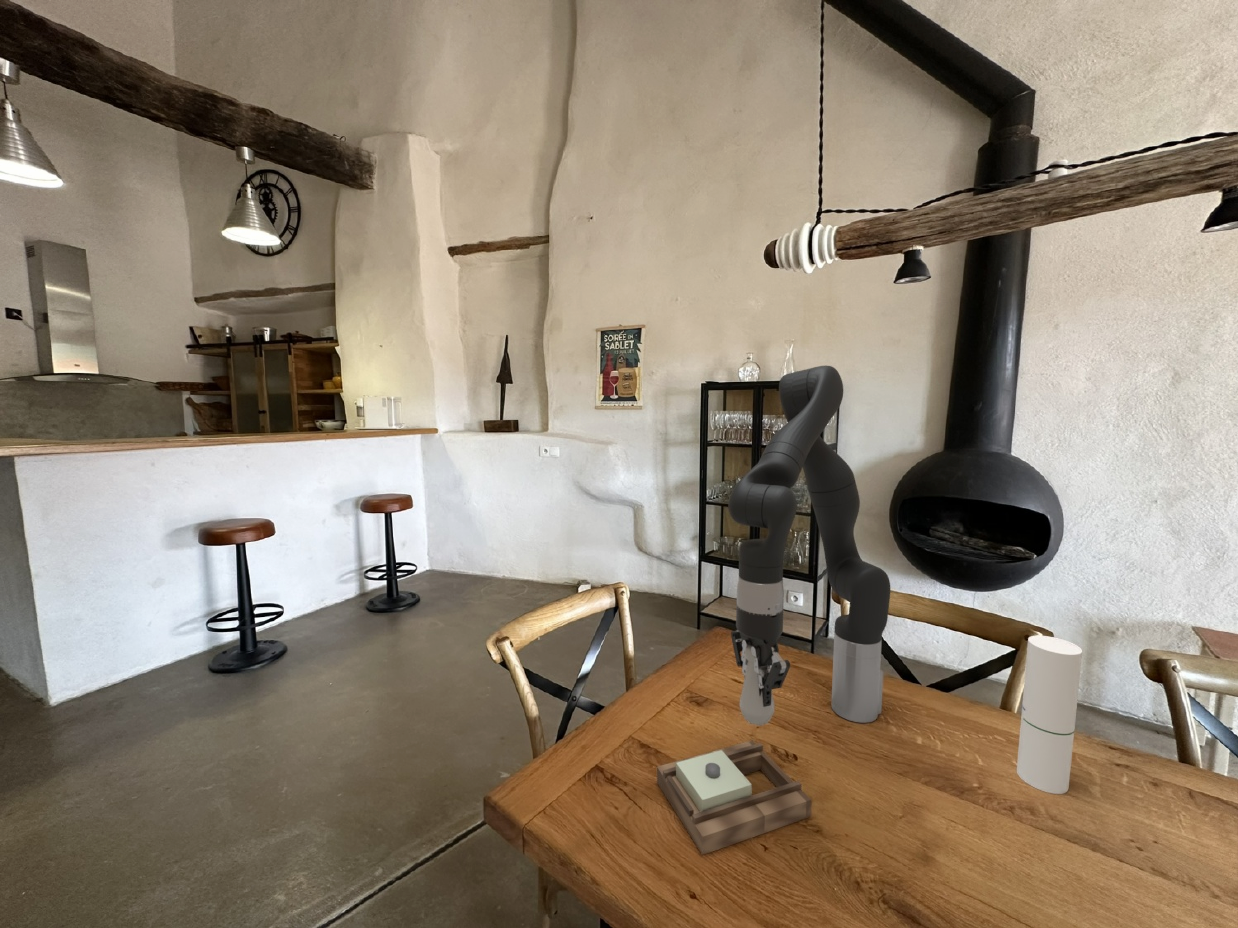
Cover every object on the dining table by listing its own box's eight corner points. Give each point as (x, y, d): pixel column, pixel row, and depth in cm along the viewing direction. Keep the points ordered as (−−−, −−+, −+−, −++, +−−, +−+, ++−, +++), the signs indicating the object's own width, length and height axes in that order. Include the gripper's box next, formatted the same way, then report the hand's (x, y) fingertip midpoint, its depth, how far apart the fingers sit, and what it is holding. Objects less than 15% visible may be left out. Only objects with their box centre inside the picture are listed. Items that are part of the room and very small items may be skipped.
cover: (721, 762, 92) (721, 744, 92) (751, 798, 84) (751, 778, 83) (675, 776, 89) (676, 757, 89) (702, 814, 81) (702, 793, 80)
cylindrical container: (1060, 771, 94) (1073, 639, 91) (1075, 798, 87) (1089, 658, 85) (1012, 760, 97) (1023, 632, 94) (1022, 786, 90) (1034, 649, 88)
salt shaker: (770, 709, 91) (773, 638, 89) (777, 729, 85) (779, 654, 84) (737, 707, 92) (738, 637, 90) (741, 727, 86) (742, 653, 84)
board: (752, 754, 99) (752, 735, 99) (810, 816, 84) (811, 793, 84) (656, 782, 92) (656, 761, 92) (702, 854, 77) (702, 830, 77)
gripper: (717, 592, 91) (716, 684, 93) (766, 623, 78) (764, 730, 80) (753, 586, 94) (751, 676, 96) (807, 616, 81) (803, 719, 83)
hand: (757, 700), depth 88 cm, fingers closed on salt shaker, 3 cm apart
